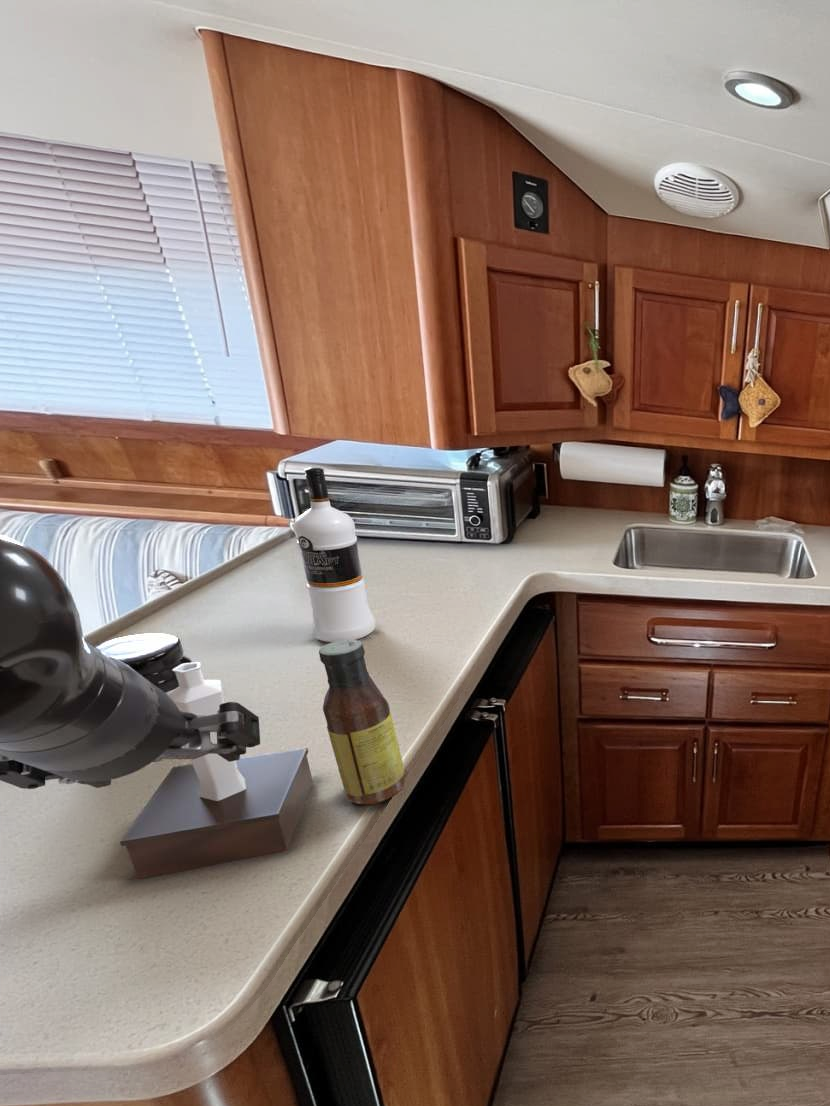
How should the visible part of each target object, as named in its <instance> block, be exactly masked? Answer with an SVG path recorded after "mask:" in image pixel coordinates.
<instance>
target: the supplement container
mask: <svg viewBox="0 0 830 1106" xmlns="http://www.w3.org/2000/svg"><path fill="white" fill-rule="evenodd" d="M182 644H183V643H182V641H181V640H180V638H179V637H177V636H175V635H173V634H168V633H167V634H166V633H141V634H132V635H127V636H122V637H117V638H113V639H109V640H105V641H102V642H99V643H97V644H93V646H94V647H96V648H97V649H98V650H100V651H101V652H103V653H104V654H105V655H108V656H110V657H112V658H115V659H117V660H119V661H121V662H123V663H125V664H126V665H128V666H129V667H131V668H132V669H133V670H135V671H136V672H137V673H139V674H140V675H142V676H143V677H144V678H146V679H147V680H148V681H150V682H151V683H152V684H154V685H155V686H156V687H158V688H159V689H161V690H162V691H163V692H165V693H166V694H168V693H170V692H171V691H173V690H174V689H176V688H177V687H179V683H178V680H177V677H176V674H175V672H174V671H172V669H174V668H176V667H177V666H179V665H181V664H184V663H194V661H192V659H191V658H190V657H188V656H187V655H185V653H184V652H185V651H184V648H183V645H182Z"/></svg>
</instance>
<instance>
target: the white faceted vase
mask: <svg viewBox="0 0 830 1106" xmlns="http://www.w3.org/2000/svg"><path fill="white" fill-rule="evenodd" d="M201 667H202V663H201V661H195V662H194V661H193V663H184V664H181V665H179V666H177V667H176V668H174V669H172V671H174V672H175V674H176V677H177V680H178V683H179V687H177V688H176V689H174V690H173V691H171V692H170V693H168V694H167V695H168V696H169V697H170V698H171V699H172V700H173V701H174V703H175V704H176V706H177V707H178V709H179V710H180V711H182V712H189V713H193V714H195V715H204V716H208V715H214V714H217V711H218V710H219V705H221V704H223V703H226V702H225V697H224V692H223V686H222V682H221V680H220V679H204V676H203V675H204V674H203V671H202V670H201ZM210 741H211V742H212V743H213V744H217V732H210ZM183 748H189V743H188V744H186V745H185V746H183ZM189 760H190V763H191V764H192V765H193V767H194V769H195V771H196V773H197V776H198V778H199V780H200V782H201V788H200V797H202V798H206V799H210V800H214V801H219V800H222V799H224V798H227V797H229V796H231V795H234V794H236V793H238V792H241V791H243V790H245V789H246V785H245V778H244V777H243V776H242V774H241V773H240V772H239V770H238V769H237V763H236V761H231V762H229V761H227V760H226V759H224V758H222V757H221V756H219V755H218V754H207V755H204V756H201V757H199V758H196V759H189Z"/></svg>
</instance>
